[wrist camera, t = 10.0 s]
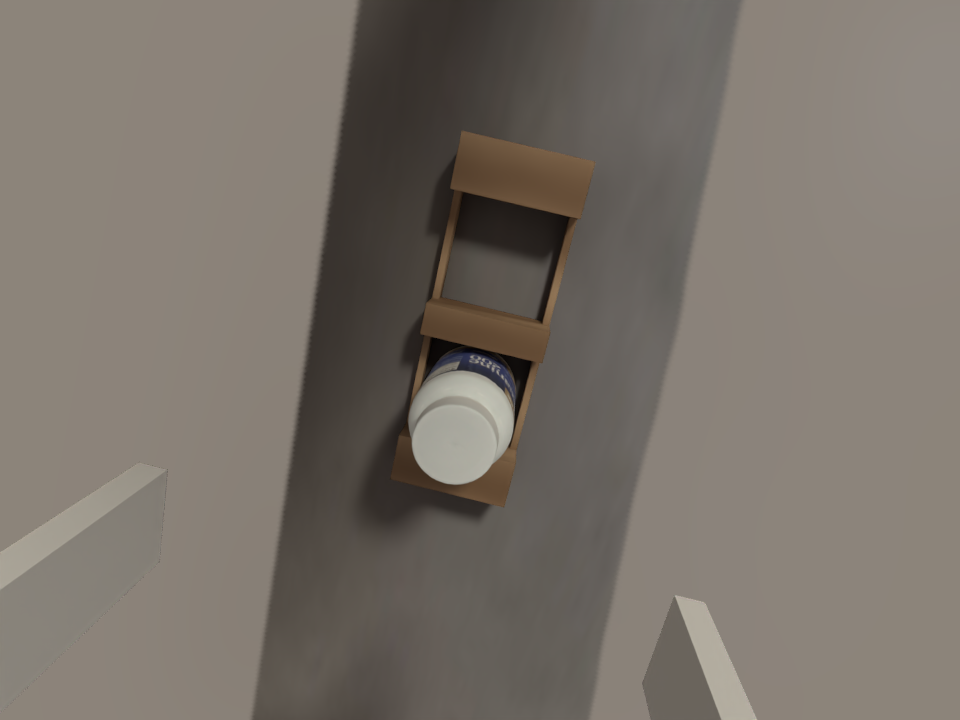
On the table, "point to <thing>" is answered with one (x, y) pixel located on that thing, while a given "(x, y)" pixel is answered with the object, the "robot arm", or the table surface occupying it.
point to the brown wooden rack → (516, 181)
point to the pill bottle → (463, 415)
